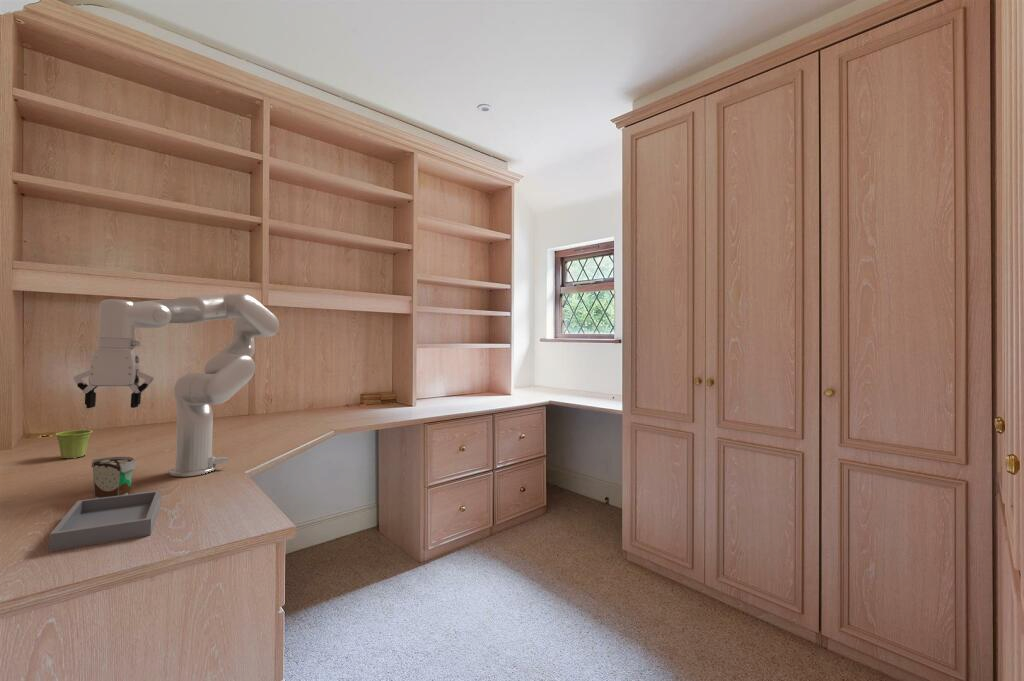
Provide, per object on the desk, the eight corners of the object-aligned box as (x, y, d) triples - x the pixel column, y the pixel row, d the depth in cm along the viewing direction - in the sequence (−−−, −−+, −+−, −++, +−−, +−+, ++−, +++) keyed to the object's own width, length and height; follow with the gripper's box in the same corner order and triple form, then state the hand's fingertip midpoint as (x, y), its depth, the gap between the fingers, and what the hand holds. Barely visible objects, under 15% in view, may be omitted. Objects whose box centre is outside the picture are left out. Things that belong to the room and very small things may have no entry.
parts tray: (160, 503, 119) (161, 490, 119) (150, 535, 100) (151, 519, 100) (77, 515, 110) (77, 500, 110) (49, 551, 92) (49, 534, 92)
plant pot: (51, 457, 159) (52, 432, 159) (87, 452, 167) (88, 428, 167) (58, 462, 154) (59, 436, 154) (95, 456, 162) (95, 432, 162)
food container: (146, 495, 124) (147, 459, 124) (121, 503, 119) (122, 464, 119) (116, 489, 128) (117, 454, 128) (90, 496, 123) (91, 459, 123)
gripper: (159, 346, 132) (156, 405, 132) (83, 343, 126) (80, 406, 126) (149, 346, 125) (145, 408, 125) (68, 343, 119) (64, 409, 119)
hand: (112, 407), depth 125 cm, fingers open, 9 cm apart
